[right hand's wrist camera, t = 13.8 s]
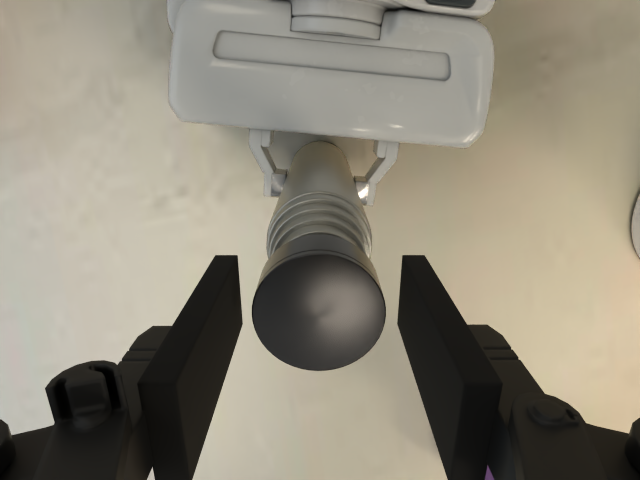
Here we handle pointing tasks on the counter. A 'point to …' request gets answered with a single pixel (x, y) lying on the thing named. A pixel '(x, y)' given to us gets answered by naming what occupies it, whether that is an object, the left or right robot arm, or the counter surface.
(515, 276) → the counter surface
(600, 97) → the counter surface
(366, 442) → the counter surface
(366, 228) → the bottle
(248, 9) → the left robot arm
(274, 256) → the cap
